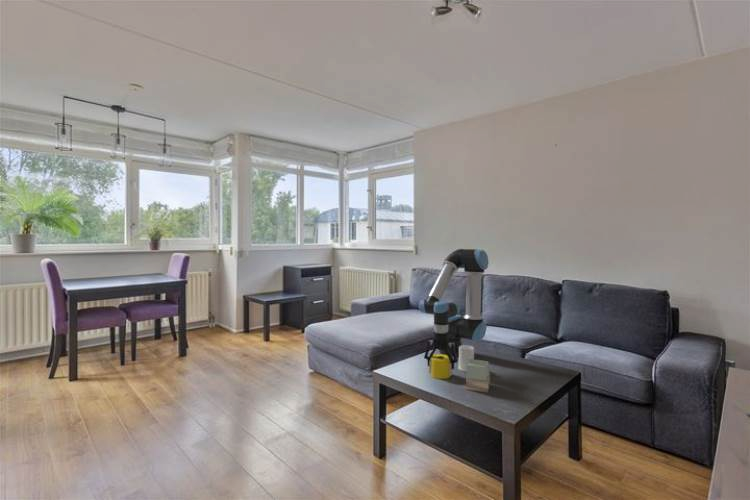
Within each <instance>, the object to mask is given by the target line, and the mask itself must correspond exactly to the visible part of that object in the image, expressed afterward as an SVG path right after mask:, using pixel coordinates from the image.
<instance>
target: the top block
mask: <svg viewBox="0 0 750 500" xmlns="http://www.w3.org/2000/svg"><path fill="white" fill-rule="evenodd" d="M489 362H490V361H487V360H480V359H475V358H474V359H470V360H469V362H468V364H467V372H466V376H467V377H469V378H475V379H482V380H486V379H487V376H488V373H490V372H489Z"/></svg>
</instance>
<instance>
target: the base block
mask: <svg viewBox="0 0 750 500" xmlns="http://www.w3.org/2000/svg"><path fill="white" fill-rule="evenodd" d="M490 385H491V373H490V372H489V373H488V376H487V379H486V380H482V379H475V378H469V377H467V375H466V376H465V390H468V391H469V390H470V391H476V392H480V393H486V394H488V393H489V389H490Z"/></svg>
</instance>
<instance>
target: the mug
mask: <svg viewBox="0 0 750 500" xmlns="http://www.w3.org/2000/svg"><path fill="white" fill-rule="evenodd" d="M470 359H474V360H475V347H474V346H472V345H466V344H465V345H464V344H462V346H459V356H458V367H457V368H458V370H460V371H462V372H466V373H467V364H468V362H469V360H470Z"/></svg>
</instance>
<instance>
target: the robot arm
mask: <svg viewBox="0 0 750 500" xmlns="http://www.w3.org/2000/svg"><path fill="white" fill-rule="evenodd" d="M488 266H489V257H488V254H487V252H486V251H485V250H483V249H478V248H476V249H475V248H473V249H471V248H458V249H456V250H454V251H452V252H451V253H450V254H449V255H448V256H446V258H445V259H444V261H443V263H442V268H441V271H440V272H439V273H438V276H437V278H436V280H435V282H434V283H433V286H432V287H431V289H430V291H429V293H428V294H427V297H426V299H424V298H423V299H421V300H420V301H419V304H418V308H419V309H418V310H419V311H420V313H423V314H427V315H433V339H432V340H431V339H429V340H428V341H427V346H426V350H425V353H424V356H423V358H424V359H425V360H427V367H429V368H428V369H429V370H428V373H429V374H431V357H432V355H435V352H436V351H437V350H438V352H439V353H440V354H443V355H447V356H448V358H449V359H450V361H451V362H450V377H452V375H453V370H454V369H455V364H457V362H459V358H458V357H459V346H462V345H463V343H462V339H464V340H465V339H467V340H470V341H477V342H479V341H482V340H483V339H484V337H485V335H486V333H487V322H485V321H484V318H483V316H482V314H481V312H482V311H481V309H482V307H481V306H482V305H481V304H482V278H483V277H482V275H483V274H485V270H487V269H488ZM459 269H463V271H464V273H465V274H466V293H465V314H464V315H463V316H462V315H461V314H459V313H460V312H461V306H460V305H459V303H457V302H455V301H449V302H447V301H443V300H442V298H443V297H444V295H445V292H446V290H447V289H448V286H449V285H450V282H451V281H452V279H453V276H454V274H455V273H457V272H458V270H459ZM441 300H442V301H441ZM432 345H433V346H434V348H433V349H432V351H431V352H430V350H431V346H432ZM429 353H430V354H429Z"/></svg>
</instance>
